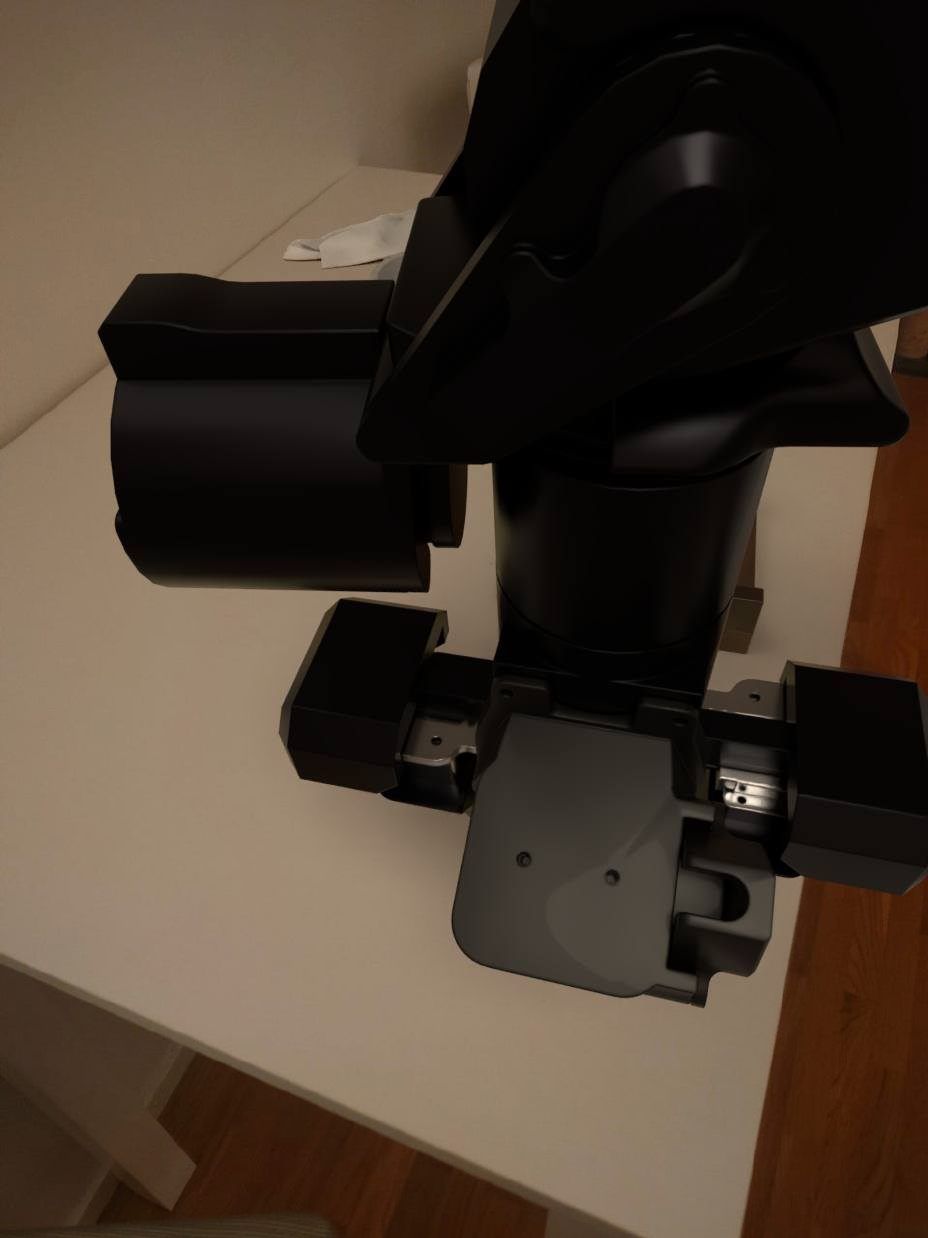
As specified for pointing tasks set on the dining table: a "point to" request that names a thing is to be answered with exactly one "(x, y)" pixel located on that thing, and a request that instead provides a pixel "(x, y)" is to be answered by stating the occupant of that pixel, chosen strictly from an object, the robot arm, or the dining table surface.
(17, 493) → the dining table surface
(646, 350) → the robot arm
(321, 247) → the cloth
